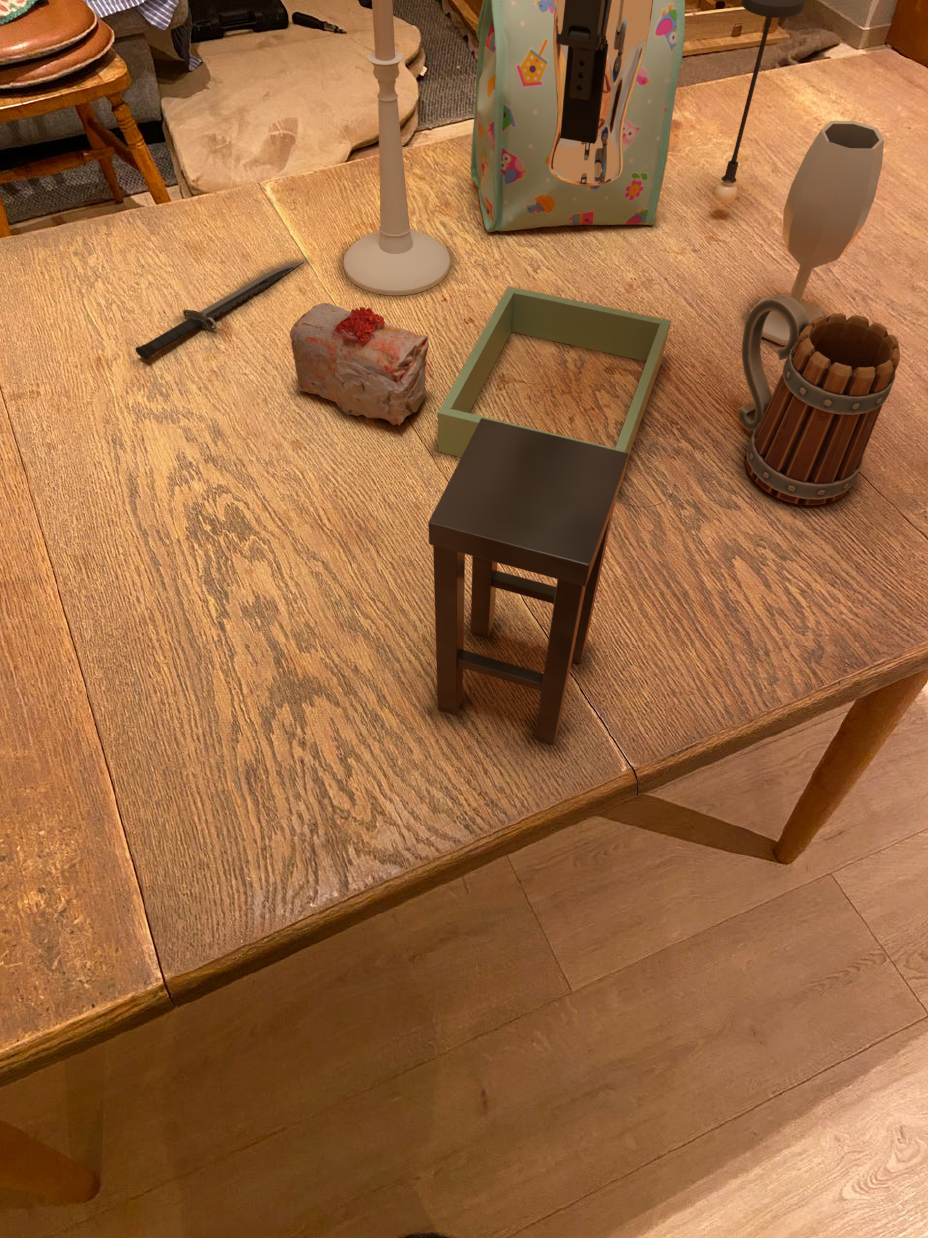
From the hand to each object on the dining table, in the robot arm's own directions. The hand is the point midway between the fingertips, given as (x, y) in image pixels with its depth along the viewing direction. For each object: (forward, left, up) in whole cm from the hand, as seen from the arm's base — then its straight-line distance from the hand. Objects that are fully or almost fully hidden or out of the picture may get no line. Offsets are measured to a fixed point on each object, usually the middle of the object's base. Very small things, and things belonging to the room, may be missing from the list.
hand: (591, 115), depth 70 cm
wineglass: (-21, -22, -29) cm, 42 cm away
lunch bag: (+10, -38, -29) cm, 49 cm away
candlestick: (+25, -18, -29) cm, 43 cm away
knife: (+40, -3, -29) cm, 50 cm away
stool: (-6, +34, -29) cm, 45 cm away
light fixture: (-10, -42, -29) cm, 52 cm away
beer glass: (0, 0, -4) cm, 4 cm away
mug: (-23, 0, -29) cm, 37 cm away
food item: (+19, +6, -29) cm, 35 cm away
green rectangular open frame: (0, 0, -29) cm, 29 cm away
